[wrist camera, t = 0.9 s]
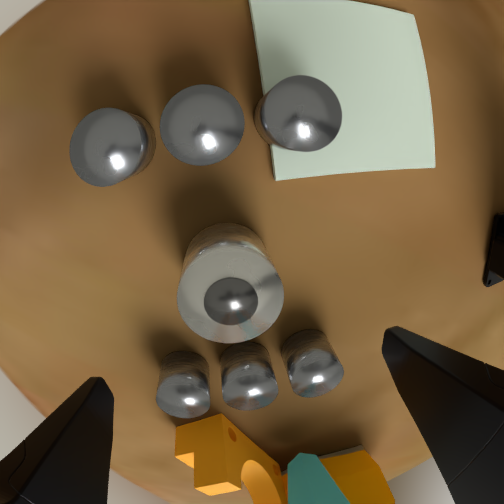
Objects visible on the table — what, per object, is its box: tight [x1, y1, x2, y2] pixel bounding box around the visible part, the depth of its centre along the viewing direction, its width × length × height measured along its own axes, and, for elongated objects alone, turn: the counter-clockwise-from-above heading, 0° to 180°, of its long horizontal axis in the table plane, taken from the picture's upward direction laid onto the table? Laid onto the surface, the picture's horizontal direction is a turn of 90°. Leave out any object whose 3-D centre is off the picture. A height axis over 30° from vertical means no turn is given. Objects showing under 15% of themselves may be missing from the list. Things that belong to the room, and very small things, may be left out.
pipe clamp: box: [175, 413, 288, 504], centre depth 20 cm, size 12×4×6 cm, turn 26°
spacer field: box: [70, 75, 344, 418], centre depth 14 cm, size 11×17×3 cm, turn 7°
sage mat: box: [248, 0, 435, 181], centre depth 12 cm, size 10×10×1 cm
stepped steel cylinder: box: [177, 223, 284, 343], centre depth 14 cm, size 4×4×4 cm
